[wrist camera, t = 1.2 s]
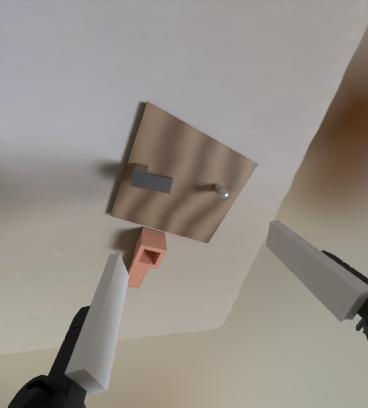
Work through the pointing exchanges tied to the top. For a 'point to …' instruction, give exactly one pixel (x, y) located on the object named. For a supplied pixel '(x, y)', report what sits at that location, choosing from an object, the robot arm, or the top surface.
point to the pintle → (221, 192)
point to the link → (146, 255)
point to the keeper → (150, 179)
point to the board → (180, 177)
